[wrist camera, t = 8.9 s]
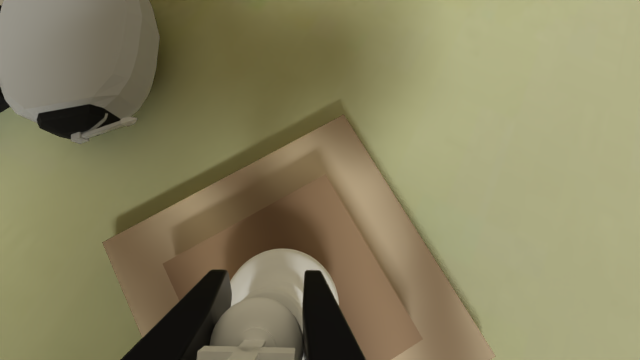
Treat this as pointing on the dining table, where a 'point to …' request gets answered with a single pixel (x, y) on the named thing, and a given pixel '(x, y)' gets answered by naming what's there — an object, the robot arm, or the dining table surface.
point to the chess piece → (265, 309)
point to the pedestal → (306, 247)
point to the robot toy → (77, 63)
